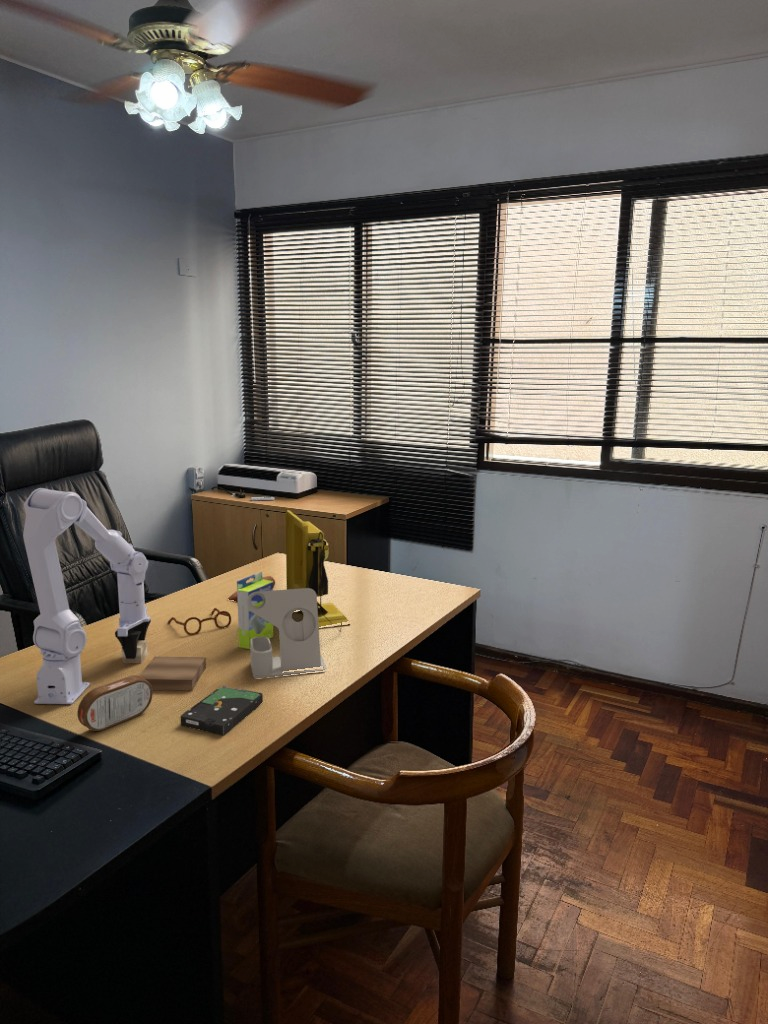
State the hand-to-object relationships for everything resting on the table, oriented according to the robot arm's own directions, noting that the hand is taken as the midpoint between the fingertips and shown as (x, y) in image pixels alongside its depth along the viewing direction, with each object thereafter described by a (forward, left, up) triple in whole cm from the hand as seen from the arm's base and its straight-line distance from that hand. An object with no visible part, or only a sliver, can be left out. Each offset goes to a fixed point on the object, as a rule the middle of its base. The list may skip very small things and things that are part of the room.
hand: (134, 653), depth 169 cm
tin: (-30, -7, -2) cm, 31 cm away
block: (0, 0, -2) cm, 2 cm away
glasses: (+24, -9, -2) cm, 26 cm away
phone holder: (-3, -37, -2) cm, 37 cm away
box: (+12, -27, -2) cm, 30 cm away
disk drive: (-26, -27, -2) cm, 38 cm away
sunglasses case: (+51, -19, -2) cm, 54 cm away
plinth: (-10, -12, -1) cm, 16 cm away
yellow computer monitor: (+28, -42, -2) cm, 51 cm away
